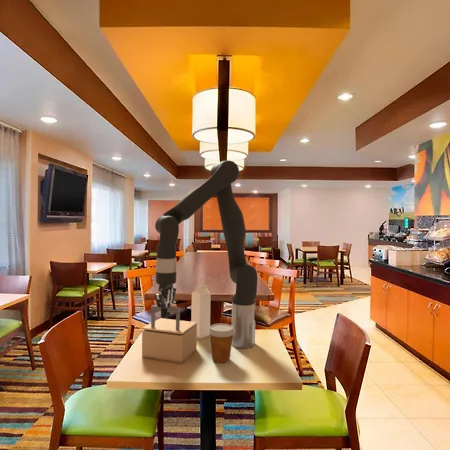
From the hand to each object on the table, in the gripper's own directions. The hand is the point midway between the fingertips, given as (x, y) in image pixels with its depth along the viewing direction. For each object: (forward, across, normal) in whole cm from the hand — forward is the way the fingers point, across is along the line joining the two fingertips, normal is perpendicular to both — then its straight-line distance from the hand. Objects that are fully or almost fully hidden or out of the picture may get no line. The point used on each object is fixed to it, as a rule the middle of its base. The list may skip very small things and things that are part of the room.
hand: (165, 316), depth 125 cm
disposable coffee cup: (+15, +5, -20) cm, 26 cm away
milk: (+15, +26, -4) cm, 31 cm away
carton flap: (+5, +4, 0) cm, 6 cm away
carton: (+15, +4, 0) cm, 16 cm away
